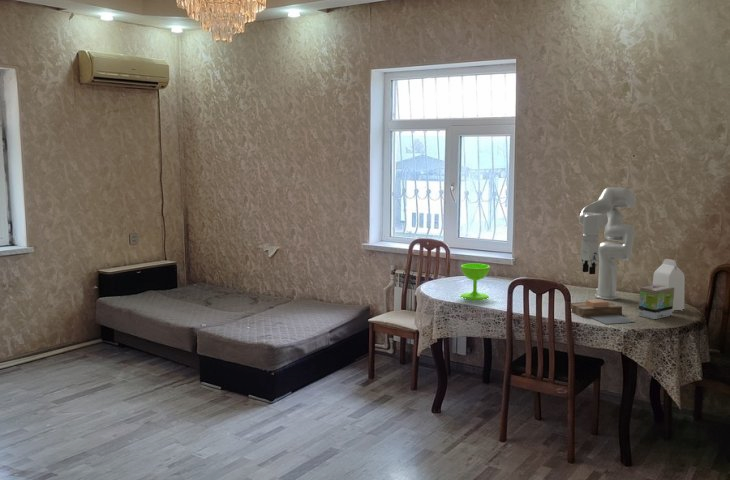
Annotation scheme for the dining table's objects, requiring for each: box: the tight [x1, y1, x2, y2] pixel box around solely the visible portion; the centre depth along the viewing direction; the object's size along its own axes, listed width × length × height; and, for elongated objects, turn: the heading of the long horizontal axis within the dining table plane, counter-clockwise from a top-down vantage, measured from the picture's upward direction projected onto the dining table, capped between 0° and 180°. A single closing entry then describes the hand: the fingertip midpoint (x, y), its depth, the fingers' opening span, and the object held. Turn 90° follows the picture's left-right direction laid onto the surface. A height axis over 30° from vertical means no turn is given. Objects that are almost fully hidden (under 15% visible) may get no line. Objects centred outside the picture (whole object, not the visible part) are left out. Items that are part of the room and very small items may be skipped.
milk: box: [651, 258, 686, 312], centre depth 350 cm, size 12×12×26 cm
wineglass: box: [460, 263, 491, 301], centre depth 376 cm, size 16×16×18 cm
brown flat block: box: [570, 301, 623, 318], centre depth 342 cm, size 14×22×4 cm, turn 104°
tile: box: [585, 298, 610, 308], centre depth 340 cm, size 6×9×2 cm, turn 104°
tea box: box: [637, 285, 674, 320], centre depth 335 cm, size 15×10×15 cm, turn 126°
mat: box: [589, 315, 636, 326], centre depth 328 cm, size 14×16×1 cm
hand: (588, 272), depth 347 cm, fingers open, 5 cm apart
